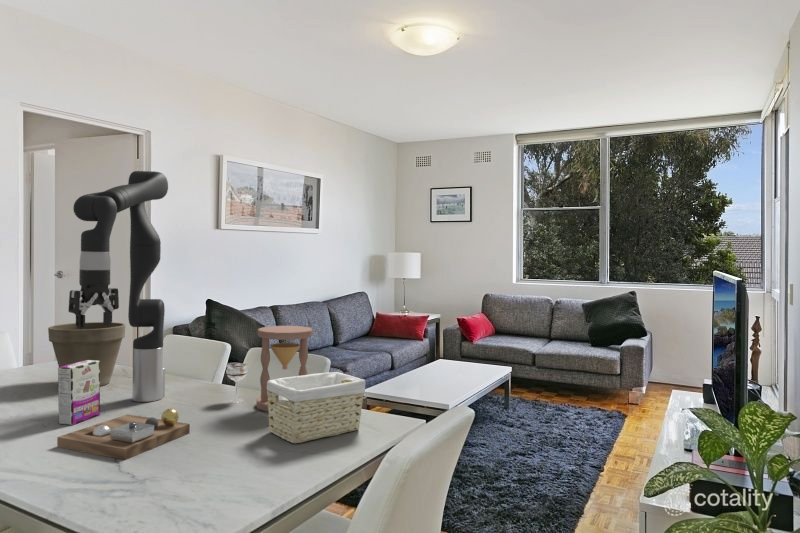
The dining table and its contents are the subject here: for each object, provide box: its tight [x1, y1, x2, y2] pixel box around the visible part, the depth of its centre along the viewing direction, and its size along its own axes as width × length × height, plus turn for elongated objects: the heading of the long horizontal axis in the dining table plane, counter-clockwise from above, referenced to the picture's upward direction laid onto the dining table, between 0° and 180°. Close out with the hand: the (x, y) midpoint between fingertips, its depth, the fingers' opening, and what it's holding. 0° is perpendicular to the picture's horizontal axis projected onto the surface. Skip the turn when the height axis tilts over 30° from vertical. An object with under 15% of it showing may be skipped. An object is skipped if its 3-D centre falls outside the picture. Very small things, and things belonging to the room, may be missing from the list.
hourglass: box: [255, 325, 314, 413], centre depth 185 cm, size 18×18×25 cm
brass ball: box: [161, 408, 180, 426], centre depth 154 cm, size 4×4×4 cm
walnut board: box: [56, 414, 191, 461], centre depth 149 cm, size 22×22×2 cm
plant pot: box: [47, 321, 126, 387], centre depth 208 cm, size 25×25×22 cm
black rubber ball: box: [145, 416, 158, 429], centre depth 150 cm, size 3×3×3 cm
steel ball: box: [92, 425, 111, 437], centre depth 146 cm, size 4×4×4 cm
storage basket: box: [267, 371, 366, 444], centre depth 159 cm, size 24×16×15 cm
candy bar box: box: [57, 360, 101, 426], centre depth 165 cm, size 11×5×16 cm, turn 168°
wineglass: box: [226, 362, 248, 404], centre depth 189 cm, size 7×7×12 cm
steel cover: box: [110, 422, 154, 443], centre depth 143 cm, size 7×7×3 cm
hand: (94, 326), depth 157 cm, fingers open, 8 cm apart
